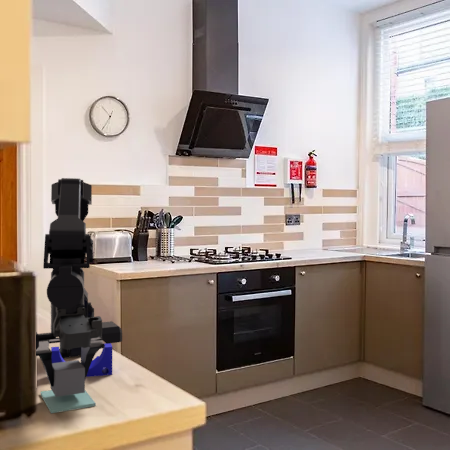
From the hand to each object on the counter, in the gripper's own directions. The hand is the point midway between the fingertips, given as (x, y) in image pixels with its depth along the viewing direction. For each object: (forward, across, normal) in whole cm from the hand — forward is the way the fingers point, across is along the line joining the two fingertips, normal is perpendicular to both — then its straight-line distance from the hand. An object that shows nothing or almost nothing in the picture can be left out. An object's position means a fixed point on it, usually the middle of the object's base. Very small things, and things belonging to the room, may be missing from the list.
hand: (67, 383), depth 99 cm
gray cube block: (+1, 0, 0) cm, 1 cm away
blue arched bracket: (+3, +6, +14) cm, 15 cm away
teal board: (+3, 0, 0) cm, 3 cm away
